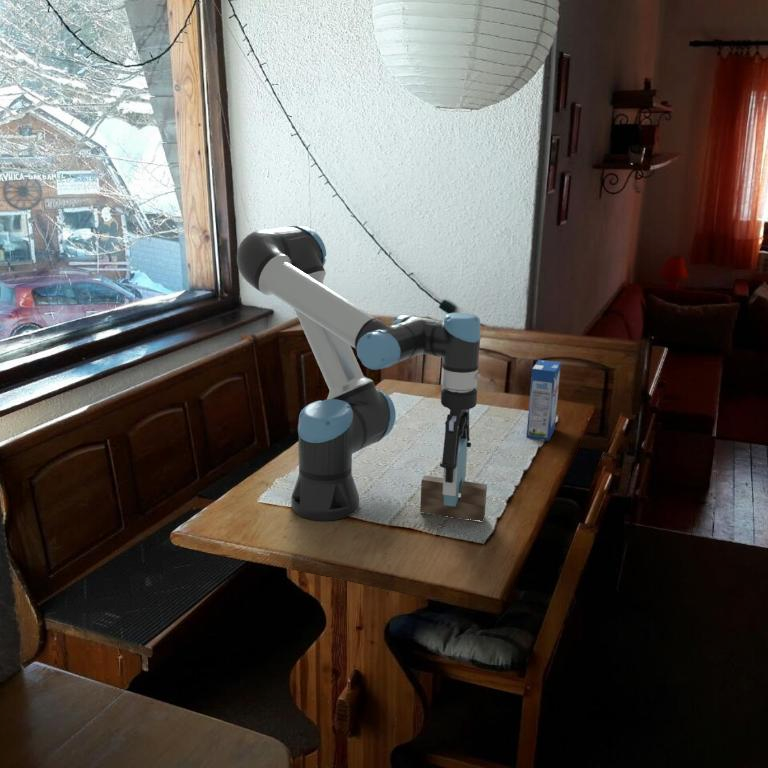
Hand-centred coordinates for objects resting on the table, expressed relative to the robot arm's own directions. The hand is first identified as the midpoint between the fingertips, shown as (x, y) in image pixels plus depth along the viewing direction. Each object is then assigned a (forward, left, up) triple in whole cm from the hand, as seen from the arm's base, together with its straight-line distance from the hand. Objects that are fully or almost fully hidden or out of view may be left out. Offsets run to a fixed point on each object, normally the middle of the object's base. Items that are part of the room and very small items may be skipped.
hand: (454, 484), depth 174 cm
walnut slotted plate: (0, 0, -7) cm, 7 cm away
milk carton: (+13, +58, -8) cm, 60 cm away
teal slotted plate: (0, 0, -3) cm, 3 cm away
